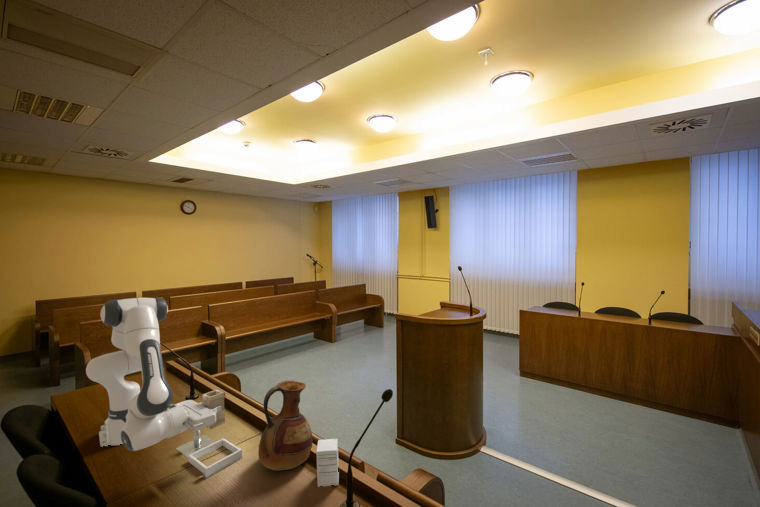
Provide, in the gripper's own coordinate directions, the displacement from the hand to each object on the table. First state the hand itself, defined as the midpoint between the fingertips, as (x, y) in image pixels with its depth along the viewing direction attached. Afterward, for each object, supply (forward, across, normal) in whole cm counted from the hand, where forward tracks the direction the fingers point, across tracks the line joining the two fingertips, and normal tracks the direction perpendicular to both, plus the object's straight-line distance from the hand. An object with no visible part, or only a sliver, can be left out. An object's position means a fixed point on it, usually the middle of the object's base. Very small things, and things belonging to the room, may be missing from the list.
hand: (215, 405), depth 132 cm
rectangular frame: (-1, 0, +22) cm, 22 cm away
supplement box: (+17, -44, +22) cm, 52 cm away
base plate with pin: (-1, +15, +22) cm, 27 cm away
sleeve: (-1, 0, +7) cm, 7 cm away
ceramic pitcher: (+15, -23, +22) cm, 35 cm away
